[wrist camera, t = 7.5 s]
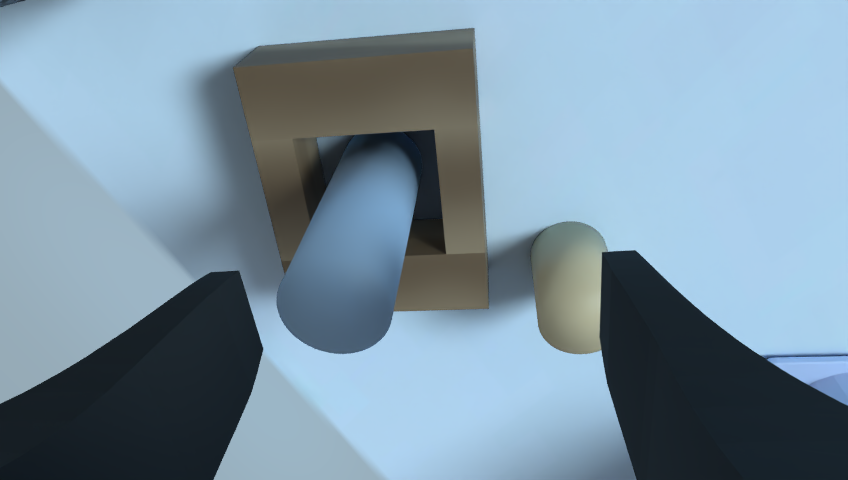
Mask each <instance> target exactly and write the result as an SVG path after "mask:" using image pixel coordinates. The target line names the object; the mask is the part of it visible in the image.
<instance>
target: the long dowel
mask: <svg viewBox="0 0 848 480" xmlns="http://www.w3.org/2000/svg"><path fill="white" fill-rule="evenodd" d="M421 173H422V158H421V154H420V152H419V149H418V147H417V146H416V144H415V143H414V142H413V141H412V140H411V139H410V138H409V137H408V136H407V135H406V134H404V133H403V132H389V133H374V134H358V135H355V136H354V137H353V138H352V139H351V140H350V142H349V143H348V145H347V147H346V149H345V151H344V153H343V155H342V158H341V160H340V162H339V164H338V166H337V168H336V170H335V172H334V174H333V176H332V178H331V180H330V182H329V184H328V187H327V189H326V191H325V193H324V195H323V197H322V199H321V201H320V203H319V205H318V207H317V209H316V211H315V213H314V216H313V218H312V220H311V222H310V224H309V226H308V228H307V230H306V232H305V234H304V236H303V238H302V240H301V242H300V245H299V247H298V249H297V251H296V253H295V255H294V257H293V259H292V261H291V263H290V265H289V267H288V269H287V271H286V274H285V276H284V278H283V280H282V282H281V284H280V286H279V289H278V292H277V308H278V312H279V315H280V317H281V319H282V321H283V323H284V325H285V326H286V328H287V329H288V330H289V331H290V332H291V333H292V334H293V335H294V336H295V337H296V338H298V339H299V340H300V341H302V342H303V343H305V344H307V345H308V346H311V347H313V348H315V349H318V350H321V351H325V352H329V353H336V354H347V353H355V352H359V351H362V350H365V349H367V348H370V347H371V346H373V345H375V344H376V343H377V342H379V341H380V340H381V339H382V338H383V337H384V335H385V334H386V332H387V331H388V329H389V327H390V324H391V320H392V316H393V311H394V306H395V301H396V296H397V291H398V286H399V281H400V276H401V271H402V266H403V262H404V257H405V252H406V247H407V242H408V237H409V232H410V227H411V222H412V217H413V213H414V208H415V203H416V198H417V193H418V188H419V183H420V178H421Z"/></svg>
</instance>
